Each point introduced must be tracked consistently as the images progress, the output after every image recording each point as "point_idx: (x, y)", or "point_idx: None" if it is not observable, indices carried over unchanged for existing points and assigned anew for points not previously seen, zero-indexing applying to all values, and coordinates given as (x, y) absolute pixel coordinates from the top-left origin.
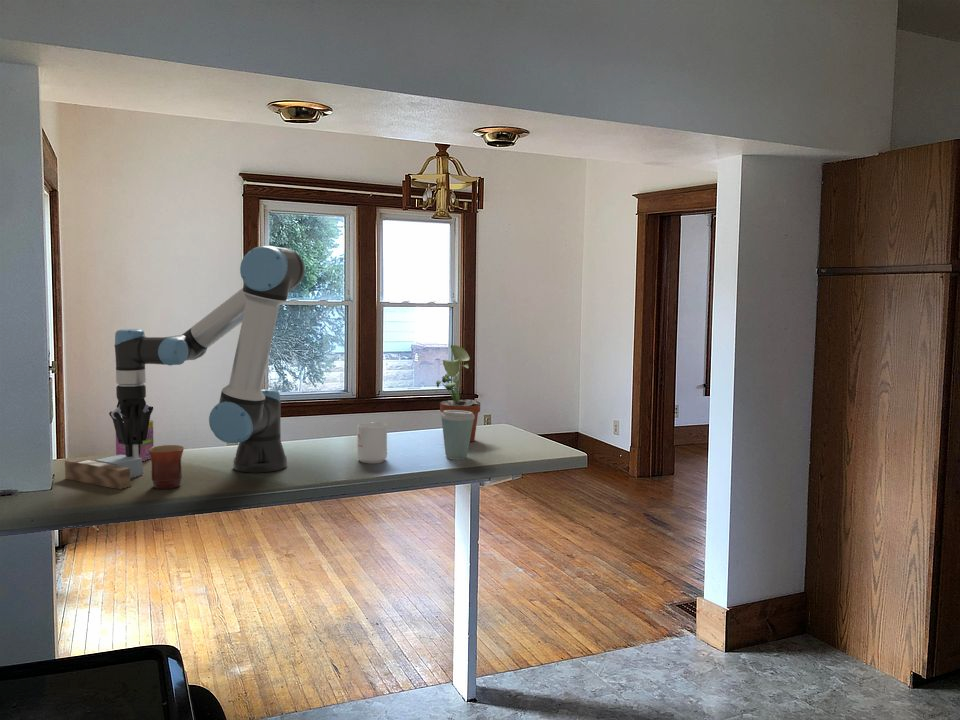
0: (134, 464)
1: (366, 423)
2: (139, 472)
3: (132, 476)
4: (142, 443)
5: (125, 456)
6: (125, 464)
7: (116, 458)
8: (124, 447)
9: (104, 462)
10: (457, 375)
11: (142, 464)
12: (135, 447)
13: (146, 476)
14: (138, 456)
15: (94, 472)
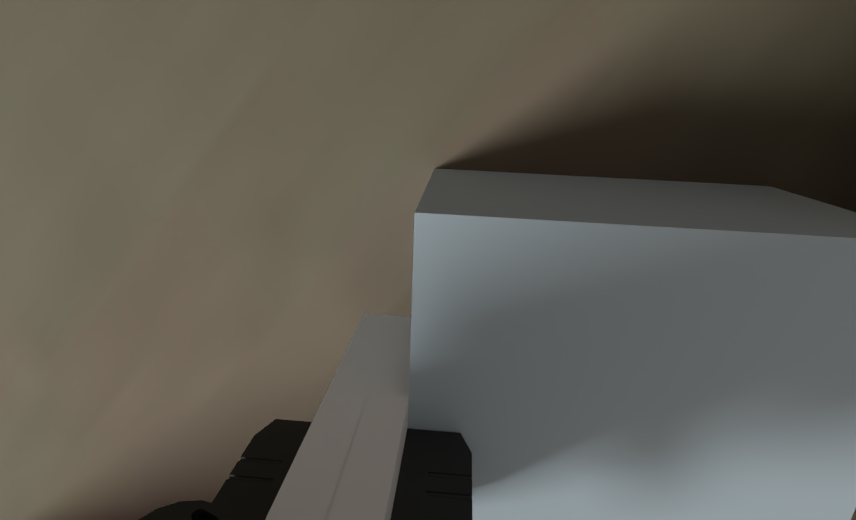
0: (572, 203)
1: None
2: (478, 178)
3: (576, 178)
4: (159, 510)
5: None
6: (753, 224)
7: (614, 518)
8: None
9: (842, 510)
10: None
11: (425, 191)
12: (344, 507)
13: (460, 80)
14: (333, 382)
15: None
